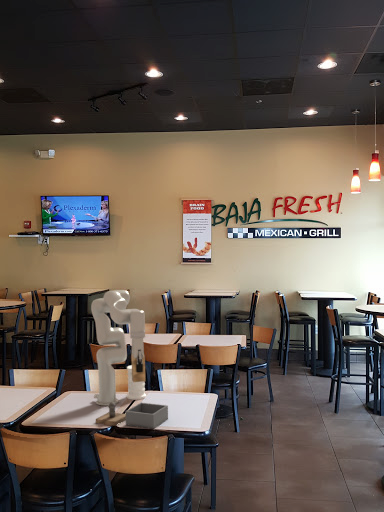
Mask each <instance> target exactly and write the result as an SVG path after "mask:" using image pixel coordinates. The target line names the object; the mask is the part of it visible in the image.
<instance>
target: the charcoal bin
mask: <svg viewBox="0 0 384 512" xmlns="http://www.w3.org/2000/svg"><path fill="white" fill-rule="evenodd" d="M125 414H126V420H125V426H126V425H127V426H128V427H134V426H138V427H137V428H141V427H143V428H142V429H148V428H150V430H154V429H156V428H158V427H159V426H160V425H162V424H163V423H165V422H166V421H168V420H169V405H167V404H156V403H151V402H150V403H149V402H148V403H147V402H139V403H137V404H136V405H134V406H132V407H131V408H128V409H127V410H125Z"/></svg>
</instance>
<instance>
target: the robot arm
mask: <svg viewBox="0 0 384 512" xmlns="http://www.w3.org/2000/svg"><path fill="white" fill-rule="evenodd" d="M130 301H131V296H130V293H129V292H128V291H127V290H126V289H114V290H109V291H106V292H105V293H104V294H103V297H102V298H101V297H100V298H96V299H94V300H93V301H92V302H91V306H90V307H91V314H92V316H93V319H94V322H95V330H96V331H95V332H96V338H97V339H96V340H97V343H98V344H99V345H101V346H106V347H101V348H99V349H98V350H97V352H96V354H95V356H96V362H97V370H98V393H94V396H93V398H94V399H96V402H95V403H96V405H98V406H102V407H103V406H105V407H106V406H107V407H109V404H110V403H111V402H113V403H115V405H117V404H118V403H119V399H118V398H117V392H116V388H117V387H116V369H114V367H113V366H112V365H113V364H118V363H124V362H126V360H127V357H128V353H127V344H126V335H125V331H124V330H123V329H122V328H121V327H112V325H111V320H112V321H113V322H114V323H115V324H116V325H129V331H130V332H129V333H130V334H129V335H130V336H129V337H130V339H131V354H132V355H133V356H134V359H135V358H136V360H137V364H136V372H143V363H142V358H143V357H144V355H145V353H144V339H145V338H146V320H145V319H146V317H145V311H144V310H140V309H138V308H127V307H128V305H129V303H130ZM106 313H107V314H108V313H109V314H110V318H111V319H110V318H109V316H108V315H107V314H106ZM109 345H115V346H109ZM107 346H108V347H107ZM142 355H143V356H142ZM137 357H139V358H137ZM138 359H139V360H138Z"/></svg>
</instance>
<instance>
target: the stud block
mask: <svg viewBox="0 0 384 512" xmlns="http://www.w3.org/2000/svg"><path fill="white" fill-rule="evenodd" d="M116 407H117V404H115V403H113V402H111V403H110V404H109V405H108V412H106V413H105V414H103V415H101V416H99V417H97V418H95V424H98V425H99V424H100V425H107V426H114V427H116V425H117V424H118V423H120V424H121V422H122V423H123V422H126V413H119V412H116ZM118 425H119V424H118ZM118 425H117V426H118Z"/></svg>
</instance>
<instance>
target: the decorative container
mask: <svg viewBox="0 0 384 512" xmlns="http://www.w3.org/2000/svg"><path fill="white" fill-rule="evenodd" d="M126 370H127V383H128V384H127V387H128V389H127V391H128V394H127V395H126V399H128V400H131V401H134V400H135V401H137V399H139V400H143V398H144V399H146V398H147V394H146V393H145V391H146V388H145V385H146V383H145V382H146V381H144V382H133V381H132V364H131V365H128V366H126ZM145 397H146V398H145Z"/></svg>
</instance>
